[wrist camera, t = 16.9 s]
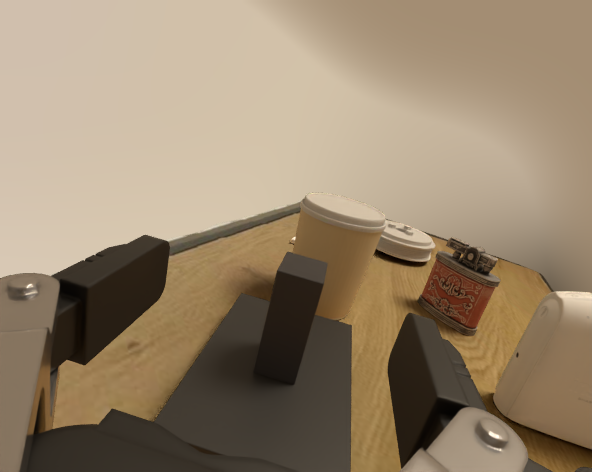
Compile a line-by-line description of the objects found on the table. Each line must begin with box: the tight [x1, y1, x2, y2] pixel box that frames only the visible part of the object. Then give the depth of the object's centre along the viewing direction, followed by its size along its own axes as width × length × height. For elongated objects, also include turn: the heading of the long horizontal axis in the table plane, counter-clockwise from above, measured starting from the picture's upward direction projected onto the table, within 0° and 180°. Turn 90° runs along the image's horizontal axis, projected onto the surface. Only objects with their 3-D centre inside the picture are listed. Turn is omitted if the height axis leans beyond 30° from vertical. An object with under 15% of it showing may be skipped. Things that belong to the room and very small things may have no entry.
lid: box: [376, 220, 435, 262], centre depth 64 cm, size 13×13×5 cm
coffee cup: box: [293, 193, 387, 320], centre depth 38 cm, size 9×9×12 cm
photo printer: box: [493, 291, 592, 449], centre depth 28 cm, size 10×4×12 cm, turn 76°
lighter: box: [418, 237, 500, 336], centre depth 43 cm, size 8×3×10 cm, turn 33°
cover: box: [154, 252, 352, 472], centre depth 24 cm, size 16×11×11 cm
